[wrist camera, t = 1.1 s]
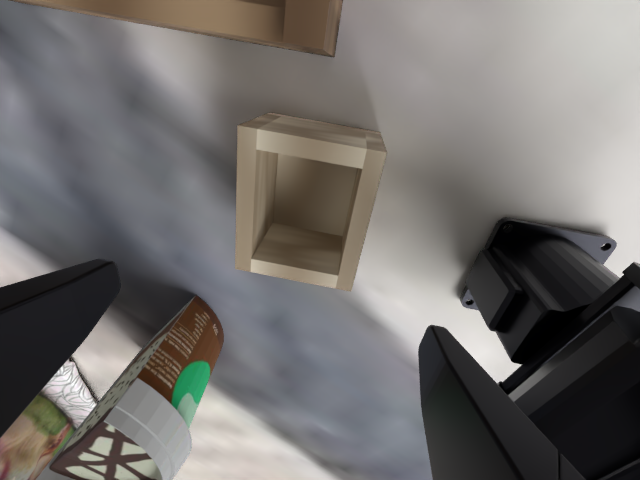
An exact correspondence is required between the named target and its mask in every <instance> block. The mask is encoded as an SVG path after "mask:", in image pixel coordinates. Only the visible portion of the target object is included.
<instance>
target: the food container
mask: <svg viewBox="0 0 640 480" xmlns="http://www.w3.org/2000/svg"><path fill="white" fill-rule="evenodd" d="M223 342H224V334H223V329H222V326H221V323H220V321H219V319H218V318H217V316H216V314H215V313H214V312H213V310H212V309H211V308H210V307H209V306H208V305H207V304H206V303H205V302H204V301H203V300H202V299H201V298H199V297H198V296H197V295H195V296H194V297H193V298H192V299H191V300H190V301H189V302H188V303H187V304H186V305H185V306H184V307H183V308H182V309H181V310H180V311H179V312H178V313H177V314H176V315H175V316H174V317H173V318H172V319H171V320H170V321H169V322H168V323H167V324H166V325H165V326H164V327H163V328H162V329H161V330H160V331H159V332H158V333H157V334H156V335H155V336H154V337H153V338H152V339H151V340H150V341H149V342H148V343H147V344H146V345H145V346H144V347H143V348H142V349H141V350H140V352H139V353H138V354H137V355H136V357H135V358H134V359H133V360H132V361H131V363H130V364H129V365H128V366H127V368H126V369H125V370H124V371H123V373H122V374H121V375H120V376H119V378H118V379H117V380H116V381H115V382H114V384H113V385H112V386H111V387H110V389H109V390H108V391H107V392H106V394H105V395H104V396H103V397H102V398H101V400H100V401H99V402H98V403H97V405H96V406H95V407H94V408H93V410H92V411H91V412H90V413H89V415H88V416H87V417H86V418H85V419H84V421H83V422H82V423H81V424H80V426H79V427H78V428H77V429H76V431H75V432H74V433H73V434H72V435H71V437H70V438H69V439H68V440H67V442H66V443H65V444H64V445H63V447H62V448H61V449H59V451H58V452H57V453H56V454H55V456H54V457H53V458H52V459H51V461H50V462H49V463H48V464H47V466H46V467H45V468H44V470H43V471H42V472H41V474H40V475H39V476H38V477H37V479H36V480H172V479H173V478H174V477H175V475H176V474H177V472H178V471H179V469H180V468H181V466H182V465H183V463H184V462H185V460H186V459H187V457H188V456H189V454H190V451H191V448H192V439H191V435H190V431H189V427H190V424H191V422H192V420H193V417H194V415H195V412H196V410H197V407H198V405H199V402H200V400H201V397H202V395H203V393H204V390H205V388H206V385H207V383H208V380H209V378H210V375H211V373H212V371H213V368H214V366H215V363H216V361H217V358H218V356H219V353H220V351H221V348H222V345H223Z"/></svg>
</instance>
